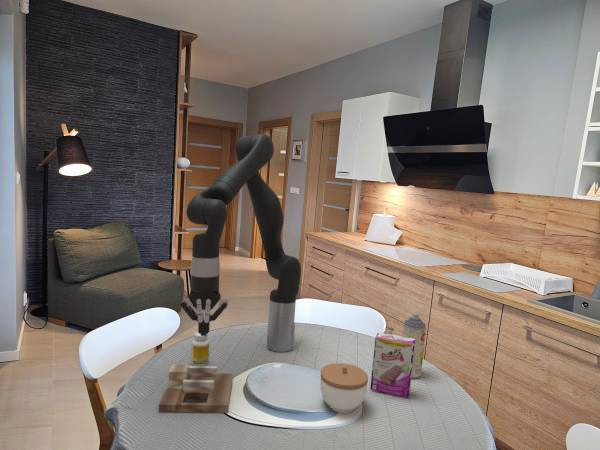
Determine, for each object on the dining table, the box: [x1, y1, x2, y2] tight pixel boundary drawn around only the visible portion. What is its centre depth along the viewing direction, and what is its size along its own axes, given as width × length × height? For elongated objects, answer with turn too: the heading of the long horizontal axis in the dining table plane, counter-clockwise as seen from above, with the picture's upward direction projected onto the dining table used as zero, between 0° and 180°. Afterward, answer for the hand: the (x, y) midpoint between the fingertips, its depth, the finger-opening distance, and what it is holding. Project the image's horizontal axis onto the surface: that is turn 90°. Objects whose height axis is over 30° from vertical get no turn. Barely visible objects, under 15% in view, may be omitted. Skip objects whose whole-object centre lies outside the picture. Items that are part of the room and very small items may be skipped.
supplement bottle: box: [190, 331, 210, 366], centre depth 130 cm, size 5×5×10 cm
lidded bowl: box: [320, 362, 369, 414], centre depth 110 cm, size 13×13×11 cm
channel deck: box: [158, 365, 234, 414], centre depth 111 cm, size 17×17×4 cm
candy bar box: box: [369, 331, 416, 399], centre depth 120 cm, size 11×5×16 cm, turn 71°
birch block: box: [167, 363, 190, 386], centre depth 114 cm, size 4×4×4 cm
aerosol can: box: [402, 312, 427, 380], centre depth 131 cm, size 7×7×20 cm
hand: (203, 334), depth 113 cm, fingers closed
